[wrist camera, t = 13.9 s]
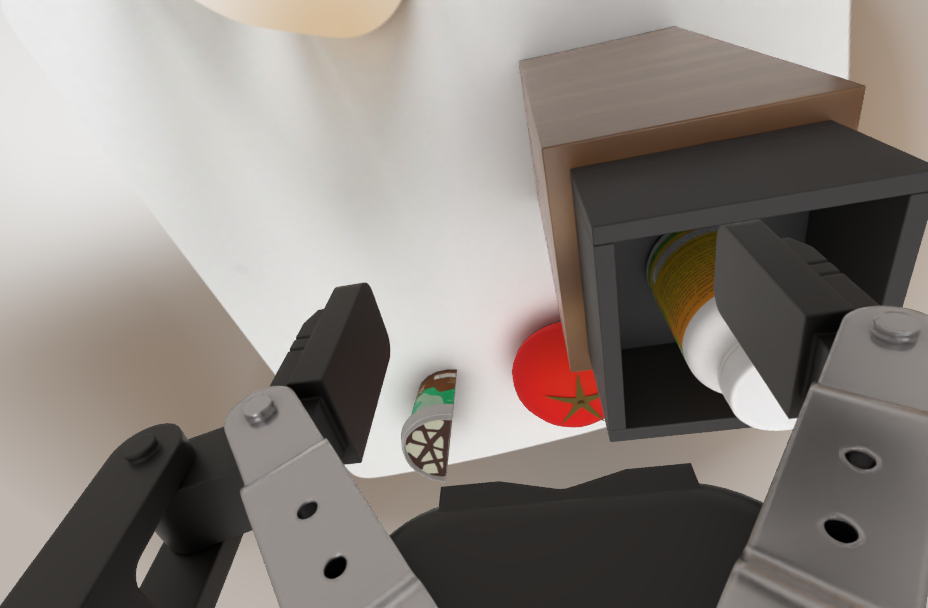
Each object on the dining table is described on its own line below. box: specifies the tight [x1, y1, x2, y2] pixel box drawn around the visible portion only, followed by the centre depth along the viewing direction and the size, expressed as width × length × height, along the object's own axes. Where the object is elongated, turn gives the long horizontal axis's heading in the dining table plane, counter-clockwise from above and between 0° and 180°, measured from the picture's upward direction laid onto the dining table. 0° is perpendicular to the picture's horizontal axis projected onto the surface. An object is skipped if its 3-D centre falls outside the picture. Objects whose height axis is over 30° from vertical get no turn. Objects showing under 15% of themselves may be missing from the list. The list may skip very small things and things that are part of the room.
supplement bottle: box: [646, 222, 797, 431], centre depth 22 cm, size 5×5×10 cm
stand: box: [519, 26, 866, 372], centre depth 39 cm, size 14×14×28 cm
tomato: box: [512, 322, 604, 427], centre depth 61 cm, size 14×13×10 cm
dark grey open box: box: [570, 120, 928, 442], centre depth 24 cm, size 12×12×7 cm
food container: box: [401, 370, 457, 482], centre depth 67 cm, size 12×6×10 cm, turn 175°
